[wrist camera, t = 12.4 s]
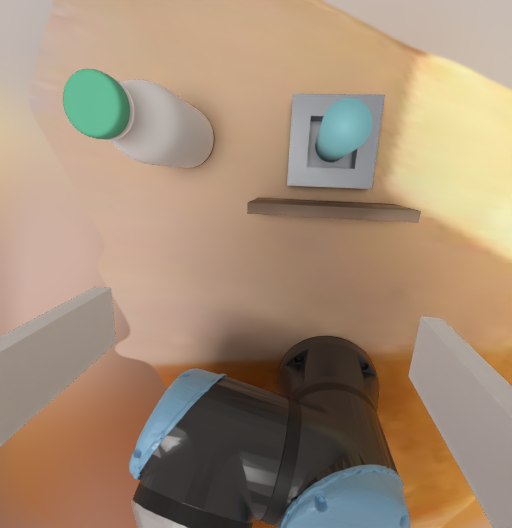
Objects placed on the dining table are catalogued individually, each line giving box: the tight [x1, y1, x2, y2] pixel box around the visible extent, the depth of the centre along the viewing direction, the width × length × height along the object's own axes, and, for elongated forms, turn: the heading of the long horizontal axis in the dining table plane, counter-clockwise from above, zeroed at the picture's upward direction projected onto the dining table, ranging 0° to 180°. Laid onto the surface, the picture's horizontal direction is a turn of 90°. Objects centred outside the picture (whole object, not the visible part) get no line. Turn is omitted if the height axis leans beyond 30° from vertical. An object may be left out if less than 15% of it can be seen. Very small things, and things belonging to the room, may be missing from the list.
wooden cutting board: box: [247, 198, 421, 223], centre depth 36 cm, size 1×18×9 cm, turn 88°
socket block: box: [287, 94, 385, 189], centre depth 37 cm, size 10×10×4 cm
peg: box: [315, 98, 373, 162], centre depth 31 cm, size 4×4×14 cm
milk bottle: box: [63, 69, 214, 168], centre depth 31 cm, size 8×8×20 cm
